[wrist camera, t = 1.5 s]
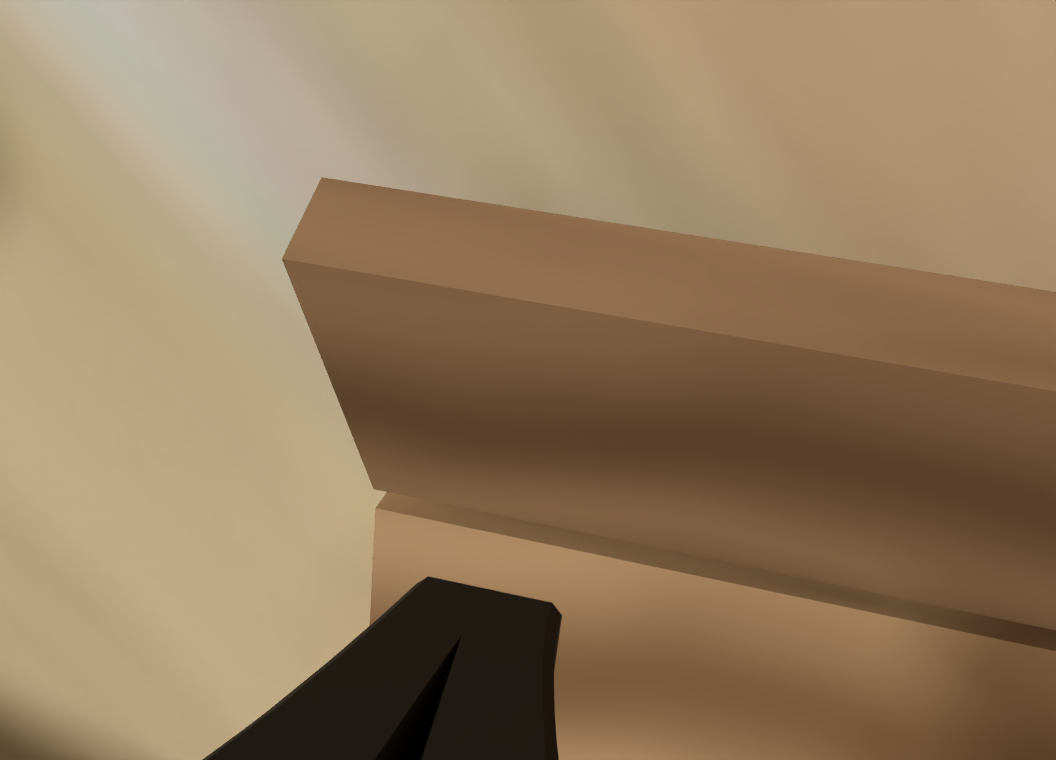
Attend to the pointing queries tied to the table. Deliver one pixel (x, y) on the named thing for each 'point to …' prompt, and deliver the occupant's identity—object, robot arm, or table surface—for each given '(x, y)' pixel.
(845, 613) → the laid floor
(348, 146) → the table surface
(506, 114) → the table surface
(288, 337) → the table surface
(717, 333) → the loose plank
